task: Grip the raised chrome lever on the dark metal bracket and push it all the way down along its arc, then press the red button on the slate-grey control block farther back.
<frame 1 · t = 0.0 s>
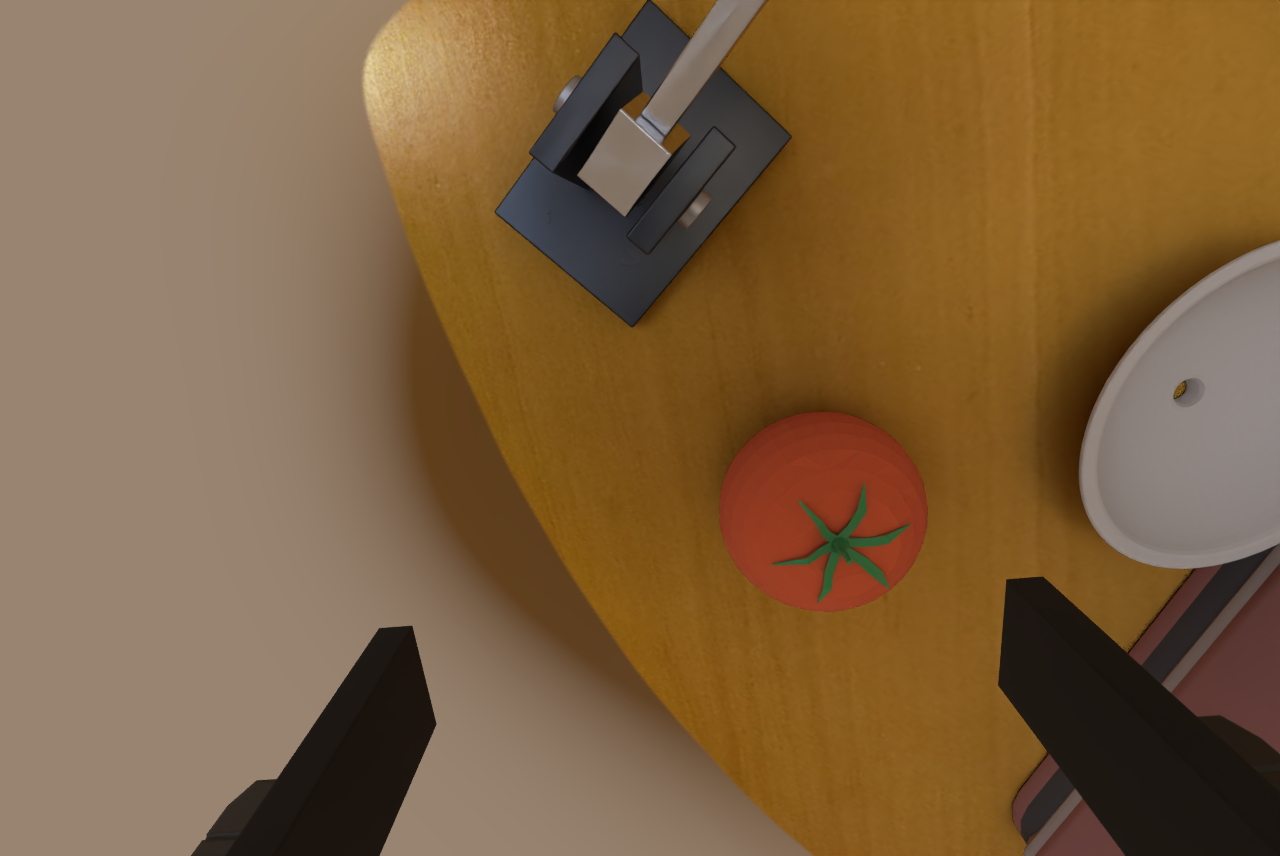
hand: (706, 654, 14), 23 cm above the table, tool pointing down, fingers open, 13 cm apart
dish: (1171, 387, 35), on the table
toaster: (1241, 704, 42), on the table
bracket: (640, 176, 32), on the table
tomato: (798, 474, 37), on the table
lever: (720, 31, 19), point 13 cm above the table, hinge at 28.0°
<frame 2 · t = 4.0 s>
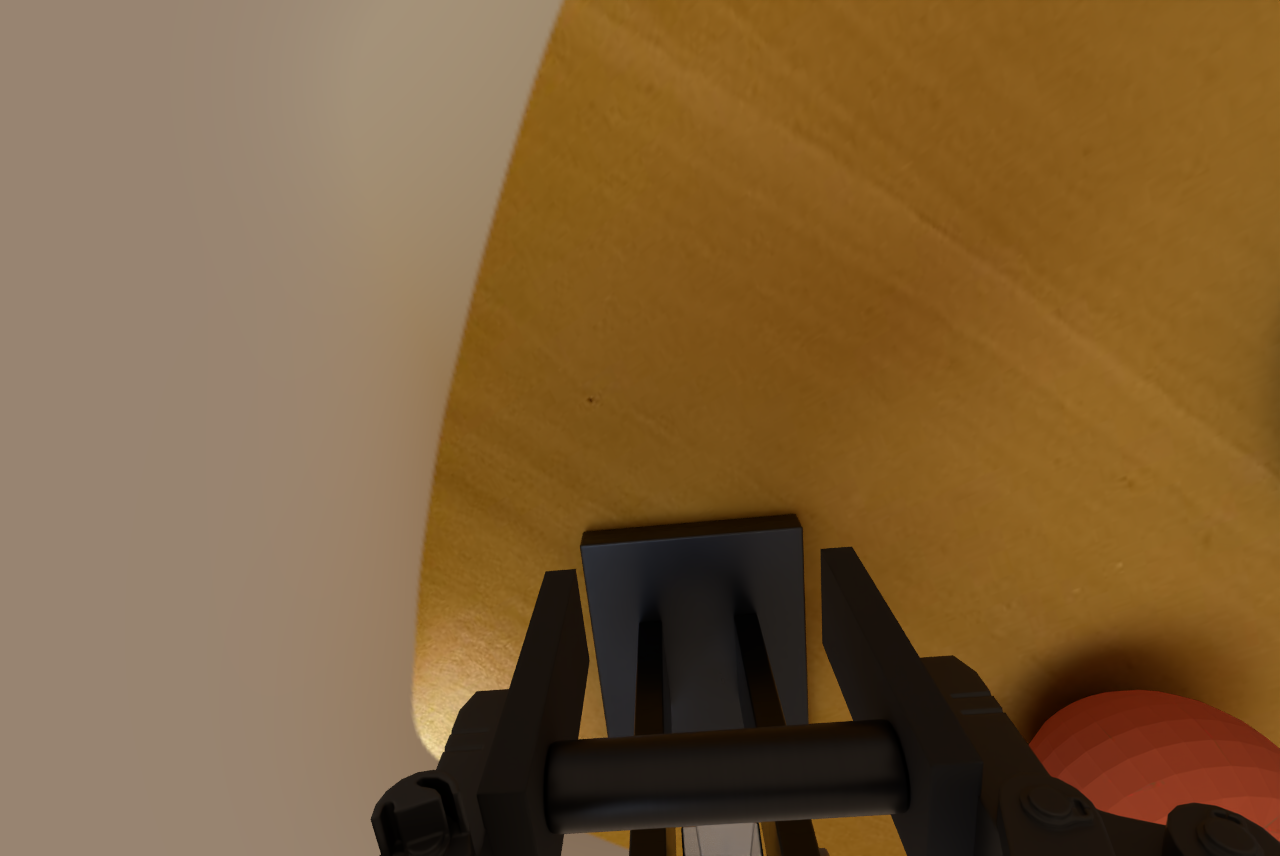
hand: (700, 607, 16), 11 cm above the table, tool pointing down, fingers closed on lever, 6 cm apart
bracket: (699, 642, 29), on the table
tomato: (1082, 730, 30), on the table
lever: (723, 845, 15), point 13 cm above the table, hinge at 28.0°, touching gripper
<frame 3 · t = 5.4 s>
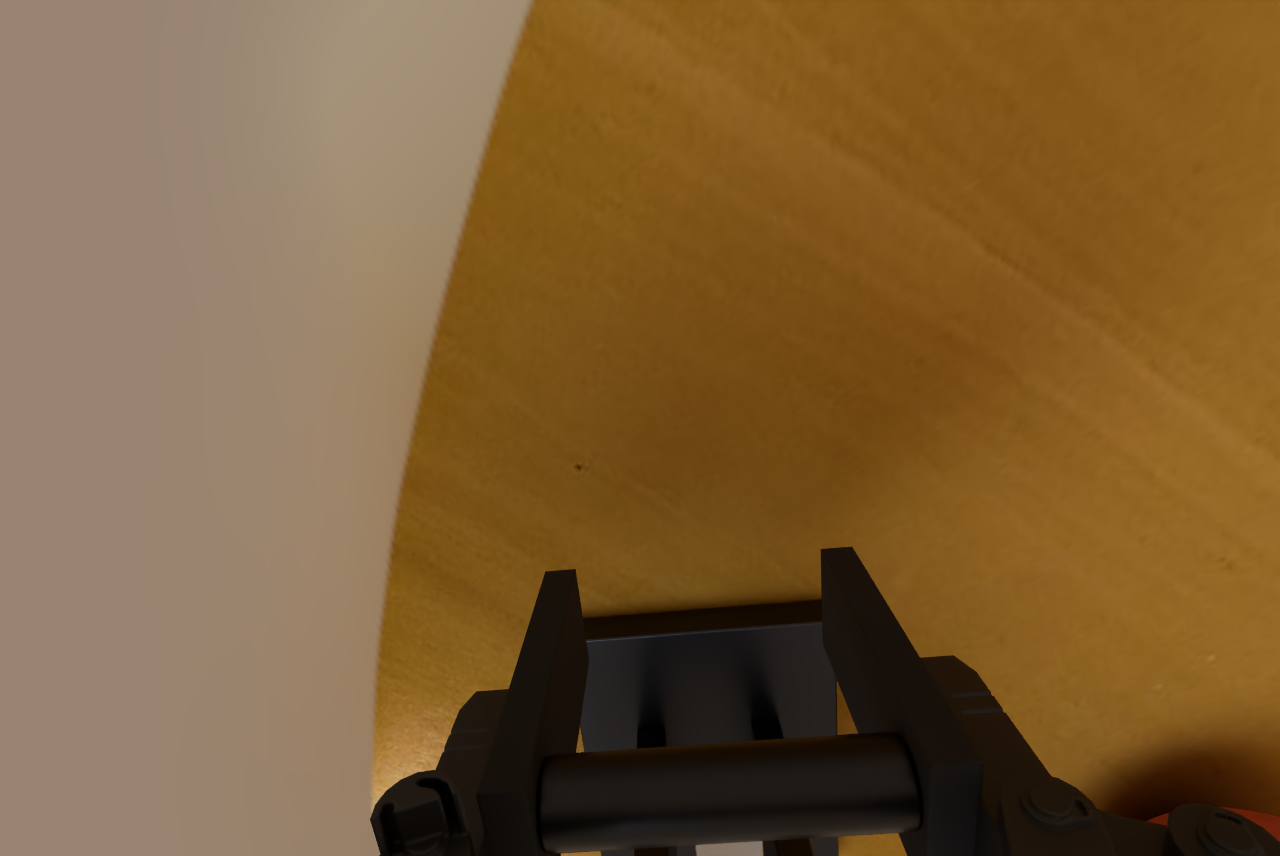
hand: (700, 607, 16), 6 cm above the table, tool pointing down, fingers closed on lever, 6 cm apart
bracket: (709, 744, 24), on the table
tomato: (1157, 840, 26), on the table
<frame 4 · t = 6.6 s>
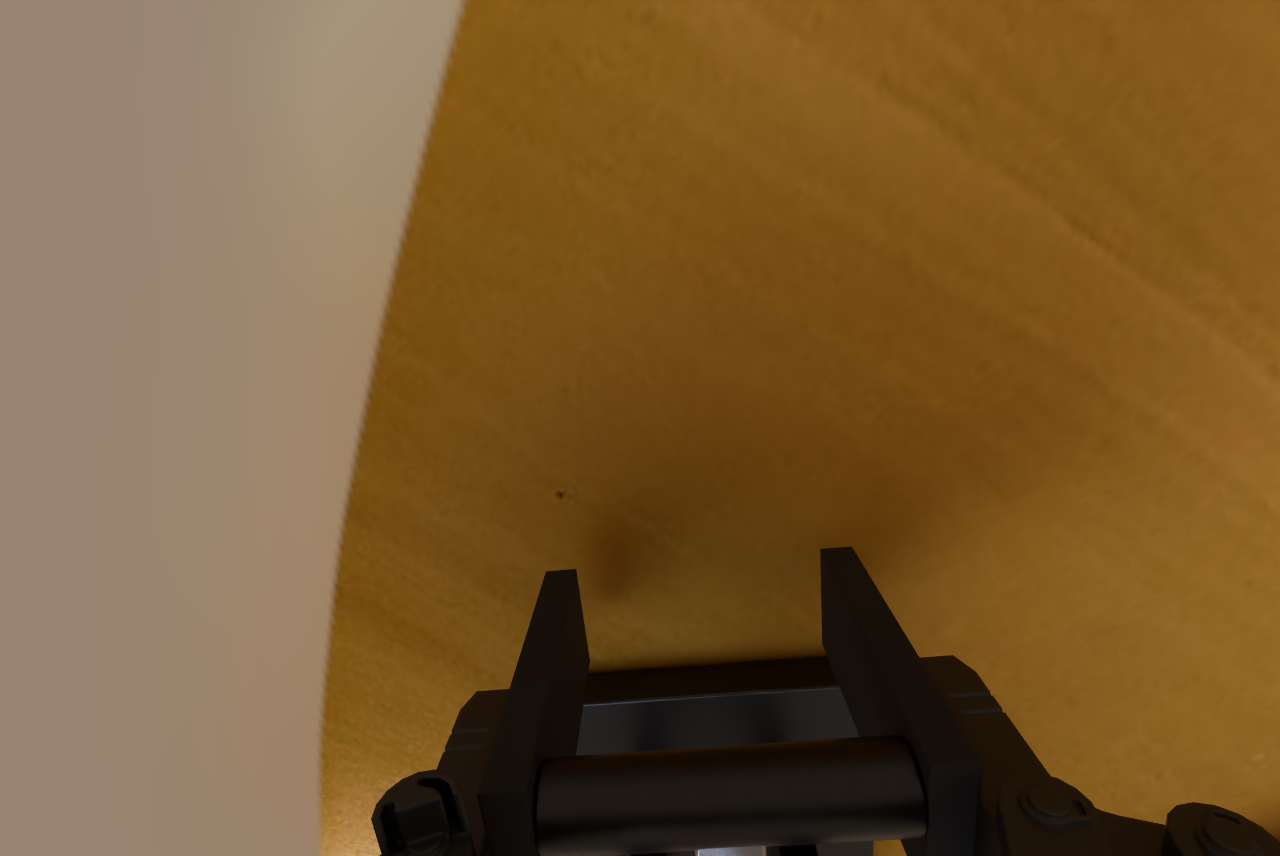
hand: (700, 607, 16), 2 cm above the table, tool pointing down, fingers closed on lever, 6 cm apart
bracket: (718, 820, 20), on the table
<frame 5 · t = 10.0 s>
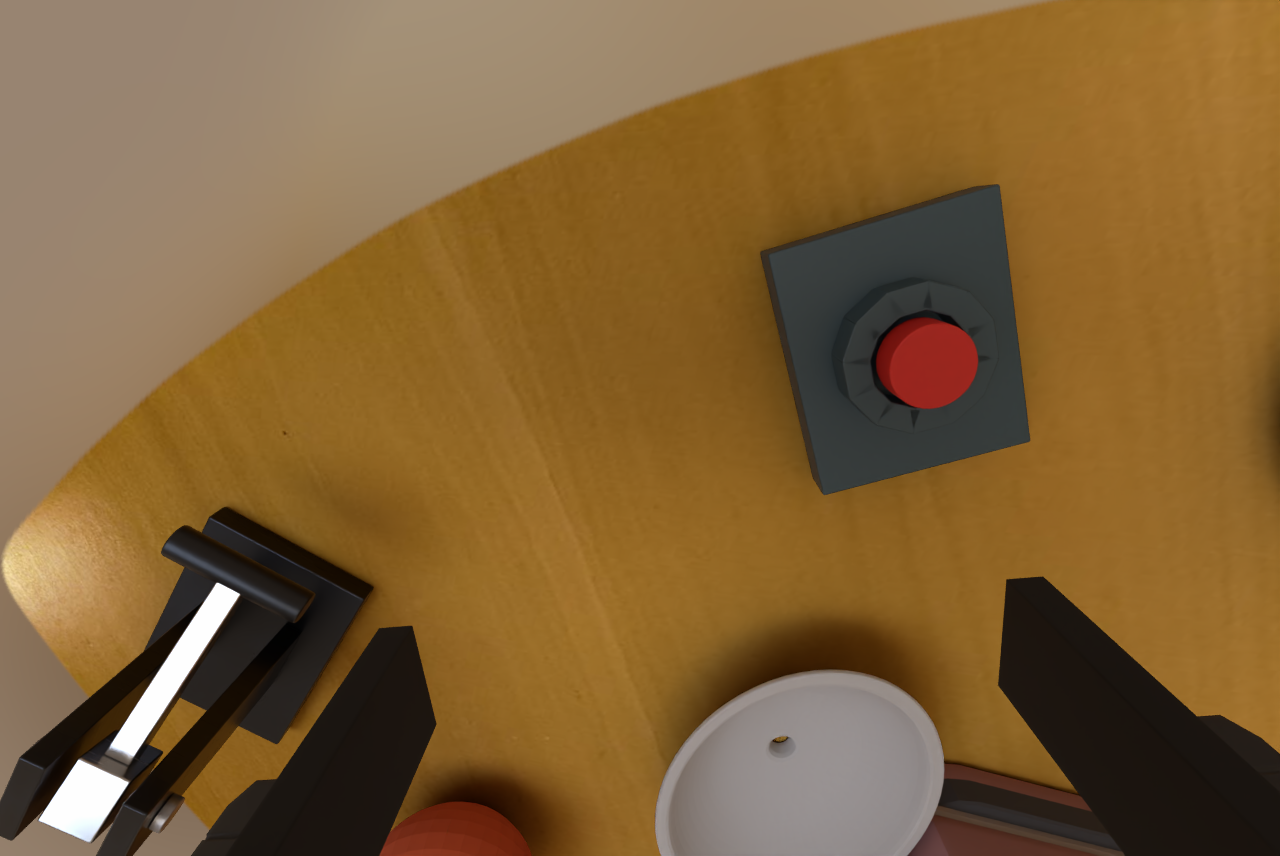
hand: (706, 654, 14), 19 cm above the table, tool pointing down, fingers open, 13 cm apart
dish: (778, 731, 39), on the table
control block: (888, 343, 31), on the table
bracket: (258, 624, 37), on the table
button: (925, 362, 27), point 4 cm above the table, slide at 0.1 cm
tomato: (471, 822, 42), on the table
lever: (168, 685, 27), point 9 cm above the table, hinge at -20.1°
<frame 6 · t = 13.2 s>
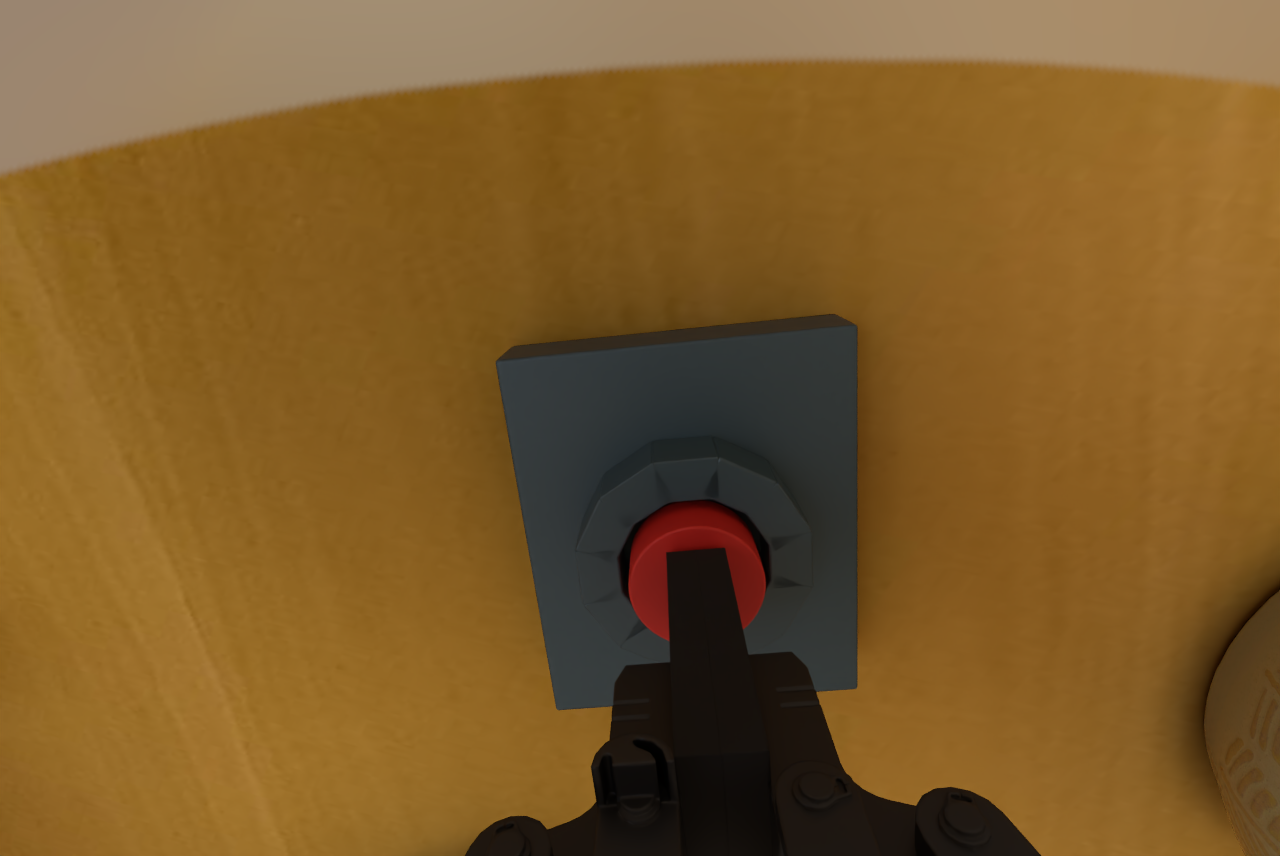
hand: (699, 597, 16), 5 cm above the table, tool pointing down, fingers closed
control block: (687, 507, 21), on the table
button: (695, 571, 18), point 4 cm above the table, slide at -0.3 cm, touching gripper
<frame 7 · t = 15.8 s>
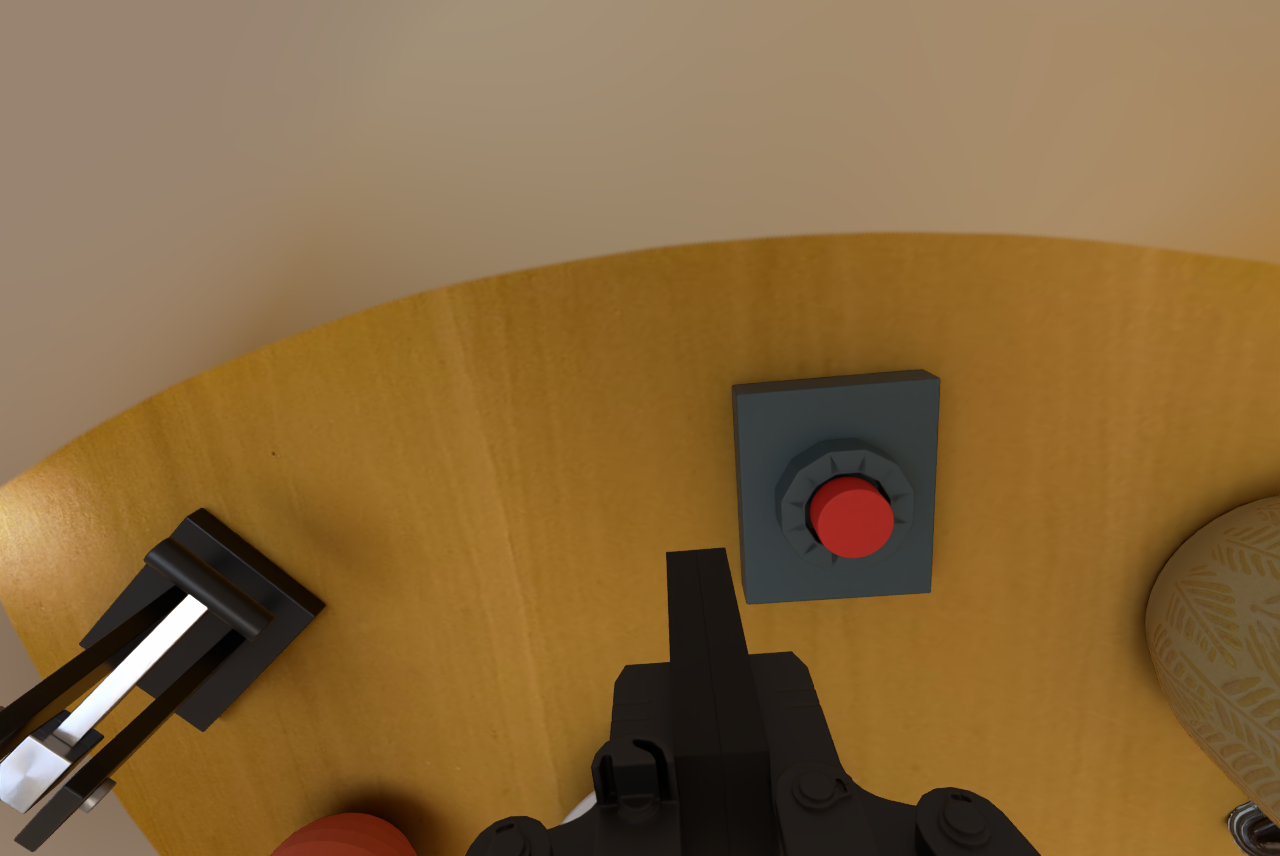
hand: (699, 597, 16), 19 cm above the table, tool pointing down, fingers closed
dish: (670, 798, 42), on the table
control block: (827, 482, 35), on the table
vase: (1261, 598, 37), on the table
bracket: (209, 618, 39), on the table
button: (850, 516, 31), point 4 cm above the table, slide at 0.1 cm
tomato: (371, 832, 44), on the table
lever: (124, 678, 29), point 9 cm above the table, hinge at -20.1°
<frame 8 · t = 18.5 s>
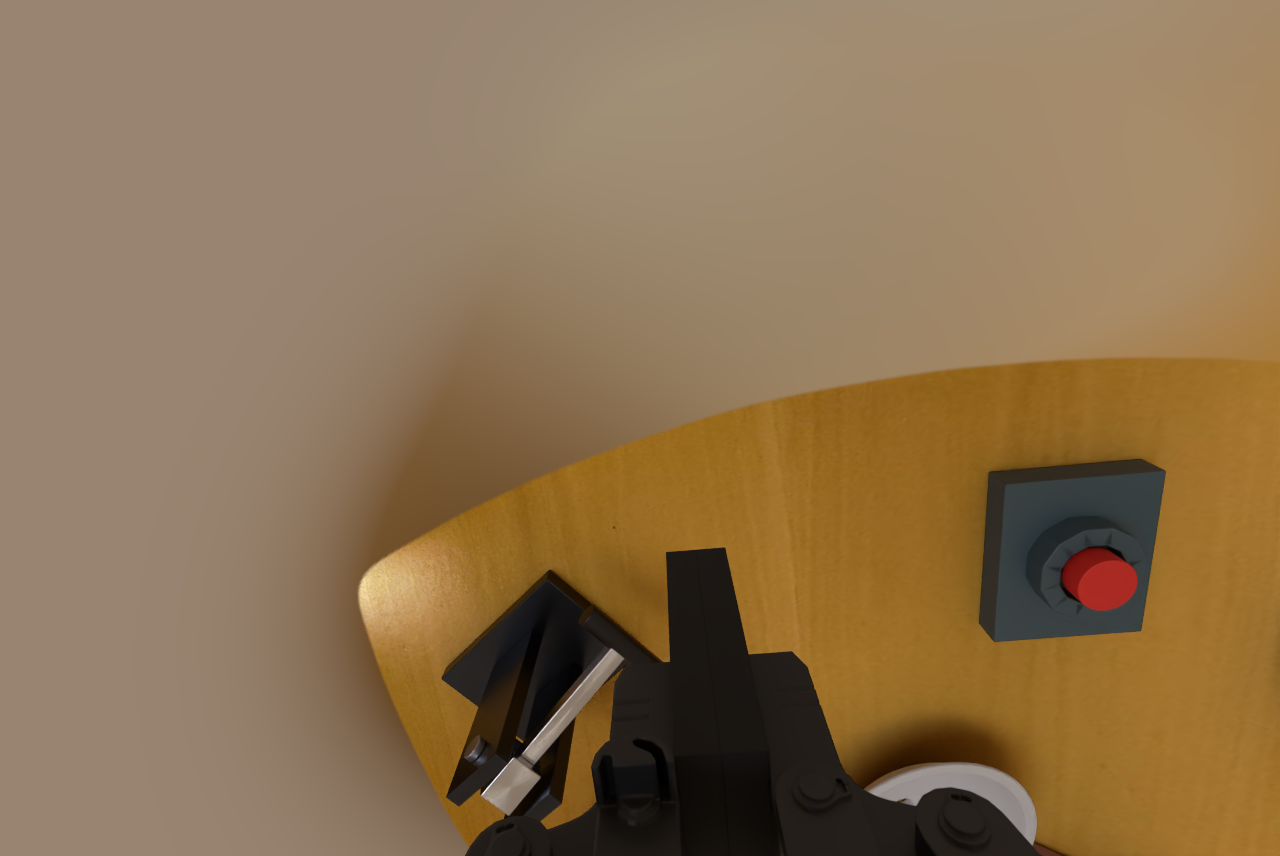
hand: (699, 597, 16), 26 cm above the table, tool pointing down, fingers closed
dish: (898, 793, 52), on the table
control block: (1056, 544, 45), on the table
bracket: (541, 655, 49), on the table
button: (1098, 578, 41), point 4 cm above the table, slide at 0.1 cm
lever: (563, 712, 39), point 9 cm above the table, hinge at -20.1°
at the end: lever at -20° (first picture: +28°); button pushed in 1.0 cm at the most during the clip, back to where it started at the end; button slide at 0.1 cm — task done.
